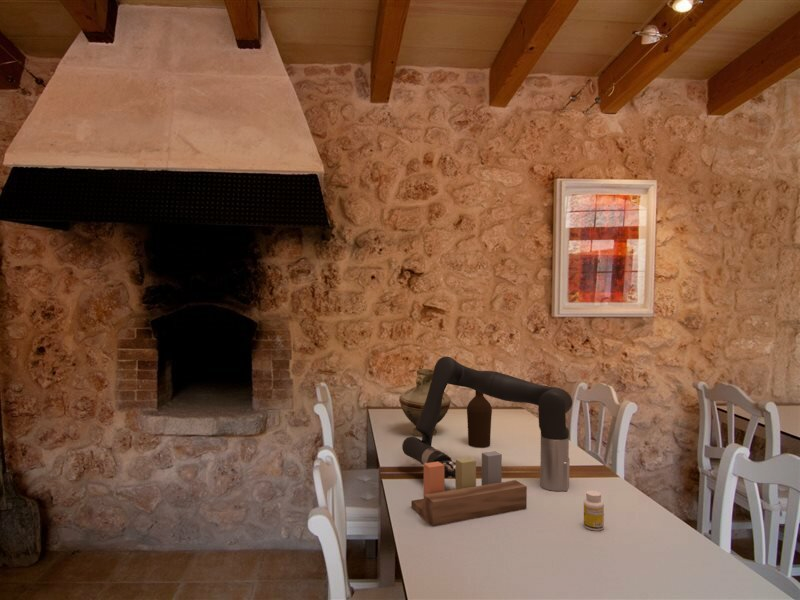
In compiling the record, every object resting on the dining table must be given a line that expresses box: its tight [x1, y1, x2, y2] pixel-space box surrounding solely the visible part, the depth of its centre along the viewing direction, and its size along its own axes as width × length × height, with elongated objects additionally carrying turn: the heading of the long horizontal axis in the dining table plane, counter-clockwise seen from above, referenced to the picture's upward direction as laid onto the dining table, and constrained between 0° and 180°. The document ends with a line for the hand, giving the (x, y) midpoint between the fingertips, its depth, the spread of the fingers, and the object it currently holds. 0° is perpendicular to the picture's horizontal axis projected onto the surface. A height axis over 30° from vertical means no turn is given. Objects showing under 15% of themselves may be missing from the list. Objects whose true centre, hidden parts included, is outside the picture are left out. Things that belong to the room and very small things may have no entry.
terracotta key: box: [423, 462, 445, 496], centre depth 168 cm, size 4×5×12 cm
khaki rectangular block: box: [454, 457, 477, 490], centre depth 172 cm, size 4×5×12 cm
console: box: [411, 479, 528, 527], centre depth 170 cm, size 15×32×7 cm, turn 113°
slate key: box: [481, 450, 503, 485], centre depth 179 cm, size 4×5×12 cm
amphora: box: [398, 368, 451, 437], centre depth 256 cm, size 24×24×30 cm
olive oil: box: [466, 390, 493, 449], centre depth 238 cm, size 11×11×25 cm
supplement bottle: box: [583, 490, 605, 531], centre depth 157 cm, size 5×5×10 cm
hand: (461, 477), depth 174 cm, fingers closed
